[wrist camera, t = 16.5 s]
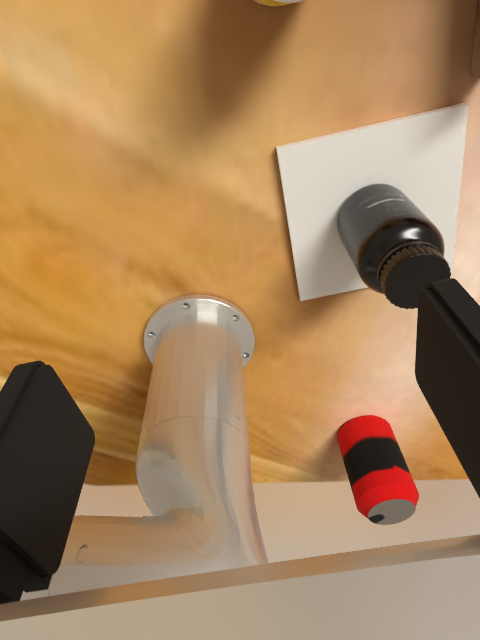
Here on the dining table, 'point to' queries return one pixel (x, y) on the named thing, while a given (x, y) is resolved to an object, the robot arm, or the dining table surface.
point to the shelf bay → (476, 45)
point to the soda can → (377, 470)
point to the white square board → (362, 170)
